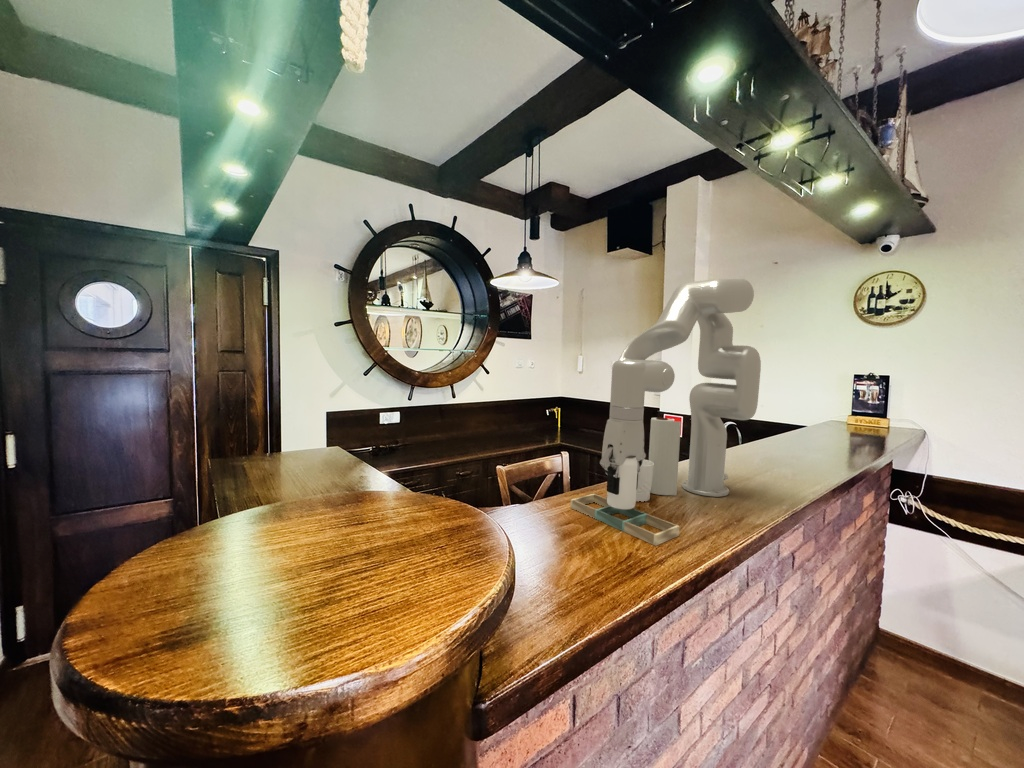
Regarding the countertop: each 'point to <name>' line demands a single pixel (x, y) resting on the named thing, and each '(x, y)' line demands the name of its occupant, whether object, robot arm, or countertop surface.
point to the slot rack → (630, 524)
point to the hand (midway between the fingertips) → (622, 489)
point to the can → (625, 486)
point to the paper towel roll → (664, 455)
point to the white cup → (644, 481)
